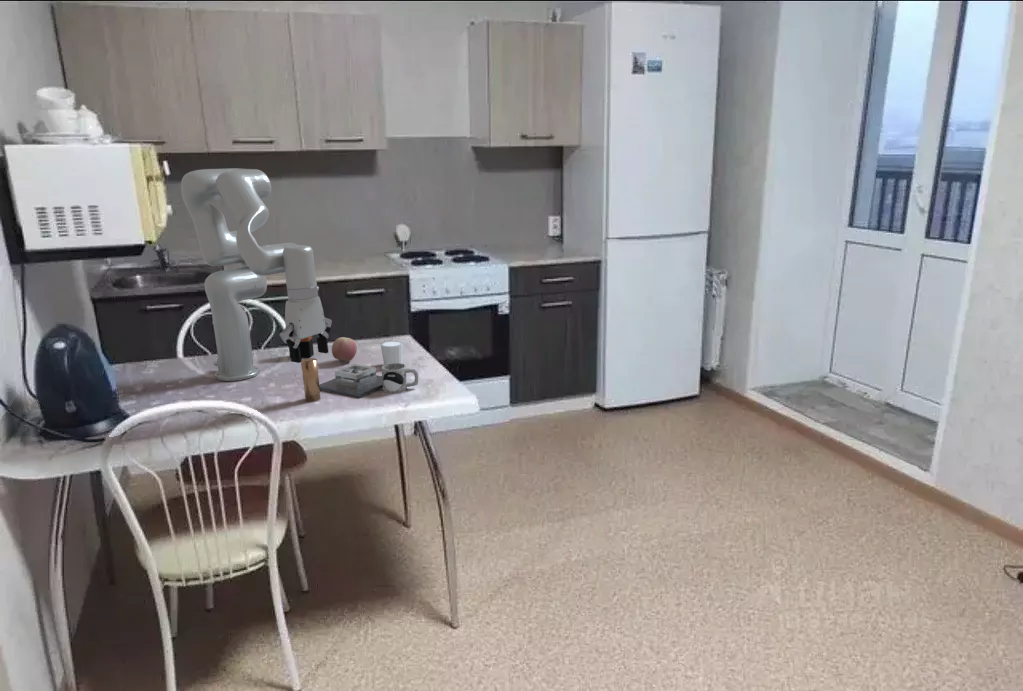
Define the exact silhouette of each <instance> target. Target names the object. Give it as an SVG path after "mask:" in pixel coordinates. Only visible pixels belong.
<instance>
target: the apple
mask: <svg viewBox="0 0 1023 691" xmlns="http://www.w3.org/2000/svg"><path fill="white" fill-rule="evenodd" d="M357 347H358V346H357V343H356V341H355V340H354V339H353V338H350V337H345V336H342V337H338V338H336V339H335V340H334V341H333V343H332V346H331V355H332V357H333V358H334V359H335V360H337V361H341V362H345V361H348V362H350V361H352V360H353V359H354V358H355V356H356V355H357V351H358V348H357Z"/></svg>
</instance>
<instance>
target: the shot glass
mask: <svg viewBox="0 0 1023 691" xmlns="http://www.w3.org/2000/svg"><path fill="white" fill-rule="evenodd" d="M380 348H381V354H382V359H383V360H382V361H383V365H386V364H390V363H402V364H404V363H403V359H404V342H403V341H399V340H390V341H385V342H382V343H381V344H380Z"/></svg>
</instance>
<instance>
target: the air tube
mask: <svg viewBox="0 0 1023 691" xmlns="http://www.w3.org/2000/svg"><path fill="white" fill-rule="evenodd" d="M301 360H302V361H301V362H300V364H301V372H302V381H303V390H304V399H305V401H306V402H309V403H311V402H318V401H320V400H321V398H322V397H321V390H320V387H319V385H320V376H319V367H318V359H317V358H316V357H315V358H313V357H310V358H302V359H301Z"/></svg>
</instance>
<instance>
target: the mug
mask: <svg viewBox="0 0 1023 691" xmlns="http://www.w3.org/2000/svg"><path fill="white" fill-rule="evenodd" d="M408 373H410V374H411V373H412V374H413V376H414V381H412V382H411V381H410V382H409V381H407V374H408ZM381 376H382V382H383V388H382V391H383V392H384V393H388V394H397V393H399V394H400V393H403V392H405V391H407V390H408V388H410V387H415V386H417V385H418V384H419V373H418V370H417V369H414V368H410V367H409V368H408V367H406V364H405V363H403V364H402V363H390V364H386V365H384V364H383V365H381Z"/></svg>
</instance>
